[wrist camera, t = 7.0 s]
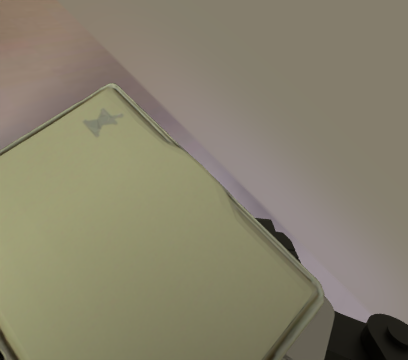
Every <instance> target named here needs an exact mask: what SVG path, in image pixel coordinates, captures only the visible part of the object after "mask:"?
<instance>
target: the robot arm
mask: <svg viewBox="0 0 408 360" xmlns="http://www.w3.org/2000/svg"><path fill="white" fill-rule="evenodd" d="M255 219H256V220H257V221H258V222H259V223H260V224H261V225H262V226H263V227H264V228H265V229H267V230H268V231H269V232H270V233H271V234H272V235H273V236H274V237H275V238H276V239H277V240H278V241H279V242H280V243H281V244H282V245H283V246H284V247H285V248H286V249H287V250H288V251H289V252H290V253H291V254H292V255H293V256H294V257H295V258H296V259H297V260H298V261H299V262H300V260H299V259H298V258H299V257H298V255H297V253H296V252H295V248H294V246H293V244H292V242H291V240H290V239H289V238H288V237H287V236H286V235H285V234H284V233H281V232H276V231H275V229H274V226H273V223H272V221H271V220H269V219H260V218H255ZM300 263H301V262H300ZM0 360H6V359H5V358H4V356H3V354H2V353H1V351H0ZM281 360H408V325H407V324H405V323H404V322H402V321H400V320H398V319H396V318H394V317H391V316H388V315H385V314H374V315H371V316H370V317H369V319H368V321H367V323H363V322H361V321H358V320H356V319H353V318H350V317H348V316H345V315H343V314H340V313H338V312H336V311H334V309H333V307H332V305H331V303H330V302H329V301H328V299H327V298H326V297H325V296H324V303H323V305H322V306H321V308H320V309H319V311H318V312H317V314H316V315H315V316H314V317H313V319H312V320H311V321H310V323H309V324H308V325H307V326H306V328H305V329H304V330H303V331H302V333H301V334H300V335H299V337H298V338H297V339H296V341H295V342H294V343H293V345H292V346H291V347H290V348H289V350H288V351H287V352H286V354H285V355H284V356H283V358H282V359H281Z"/></svg>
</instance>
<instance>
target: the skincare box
mask: <svg viewBox="0 0 408 360" xmlns="http://www.w3.org/2000/svg"><path fill="white" fill-rule="evenodd" d="M323 303H324V291H323V289H322V286H321V284H320V282H319V281H318V280H317V279H316V278H315V277H314V276H313V275H312V274H311V273H310V272H309V271H308V270H307V269H306V268H305V267H304V266H303V265H302V264H301V263H300V262H299V261H298V260H297V259H296V258H295V257H294V256H293V255H292V254H291V253H290V252H289V251H288V250H287V249H286V248H285V247H284V246H283V245H282V244H281V243H280V242H279V241H278V240H277V239H276V238H275V237H274V236H273V235H272V234H271V233H270V232H269V231H268V230H267V229H265V228H264V227H263V226H262V225H261V224H260V223H259V222H258V221H257V220H256V219H255V218H254V217H253V216H252V215H251V214H250V213H249V212H248V211H247V210H246V209H245V208H244V207H243V206H242V205H241V204H240V203H238V202H237V200H236V199H235V198H234V197H233V196H232V195H231V194H230V193H229V192H228V191H227V190H226V189H225V188H224V187H223V186H222V185H221V184H220V183H219V182H218V181H217V180H216V179H215V178H214V177H213V176H212V175H211V174H210V173H209V172H208V171H207V170H206V169H205V168H204V167H203V166H202V165H201V164H200V163H199V162H197V161H196V160H195V159H194V158H193V157H192V156H191V155H190V154H189V153H188V152H186V151H185V150H184V149H183V148H182V147H181V146H180V145H179V144H178V143H177V142H176V141H175V140H174V139H173V138H172V137H171V136H170V135H169V134H168V133H167V132H166V131H165V130H164V129H163V128H162V127H161V126H160V125H159V124H157V123H156V122H155V121H154V120H153V119H152V118H151V117H150V116H149V115H148V114H147V113H146V112H145V111H144V110H143V109H142V108H141V107H140V106H139V105H138V104H137V103H135V102H134V101H133V100H132V99H131V98H130V97H129V96H128V95H127V94H126V93H125V92H124V91H123V90H122V89H121V88H120V87H119V86H118V85H116V84H115V83H109V84H108V85H106V86H104V87H102V88H100V89H99V90H97V91H96V92H94V93H93V94H91V95H90V96H89V97H87V98H86V99H84V100H82V101H80V102H78V103H76V104H74V105H73V106H71V107H70V108H68V109H67V110H65V111H63V112H62V113H60V114H58V115H57V116H55V117H53V118H52V119H50V120H48V121H47V122H45V123H44V124H42V125H40V126H39V127H37V128H36V129H34V130H32V131H31V132H29V133H28V134H26V135H24V136H22V137H21V138H19V139H17V140H16V141H14V142H13V143H11V144H10V145H8V146H6V147H5V148H3V149H2V150H0V351H1V353H2V354H3V356H4V358H5V359H6V360H281V359H282V358H283V356H284V355H285V354H286V352H287V351H288V350H289V348H290V347H291V346H292V345H293V343H294V342H295V341H296V339H297V338H298V337H299V335H300V334H301V333H302V331H303V330H304V329H305V328H306V326H307V325H308V324H309V323H310V321H311V320H312V319H313V317H314V316H315V315H316V314H317V312H318V311H319V309H320V308H321V306H322V305H323Z"/></svg>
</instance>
